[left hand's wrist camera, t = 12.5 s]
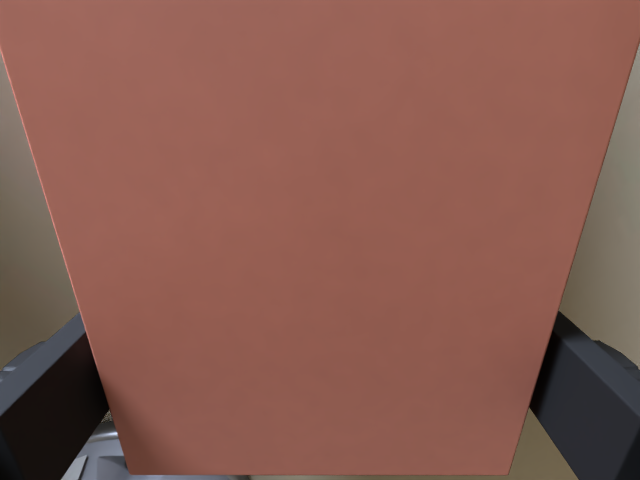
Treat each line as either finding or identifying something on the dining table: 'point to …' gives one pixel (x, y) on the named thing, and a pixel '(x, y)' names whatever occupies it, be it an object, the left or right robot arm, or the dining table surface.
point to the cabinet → (319, 216)
